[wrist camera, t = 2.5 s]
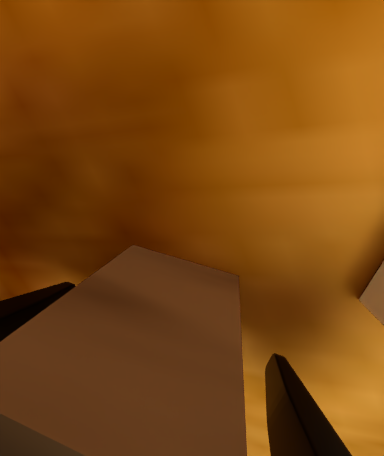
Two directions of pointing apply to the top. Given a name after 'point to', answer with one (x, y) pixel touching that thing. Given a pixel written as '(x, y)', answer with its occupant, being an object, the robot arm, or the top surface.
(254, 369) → the top surface
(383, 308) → the base
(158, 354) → the block
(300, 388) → the robot arm
